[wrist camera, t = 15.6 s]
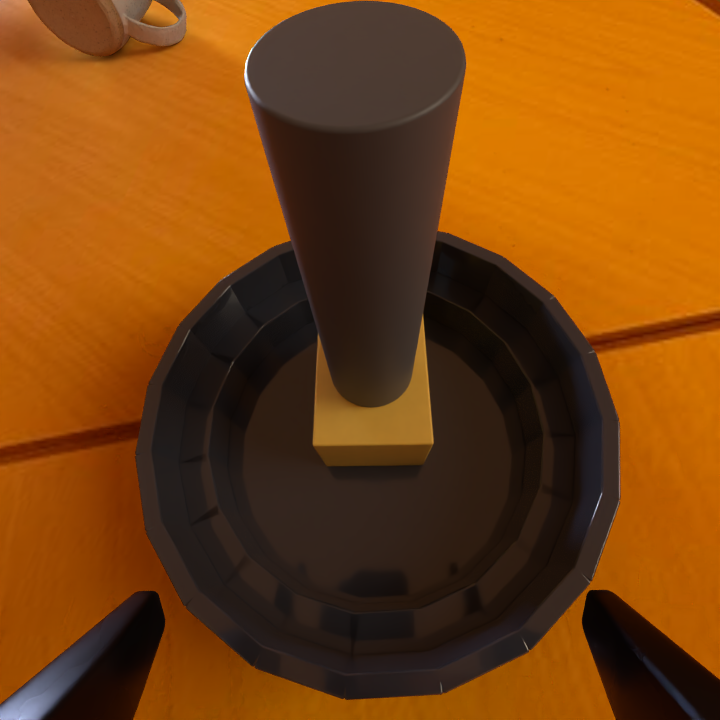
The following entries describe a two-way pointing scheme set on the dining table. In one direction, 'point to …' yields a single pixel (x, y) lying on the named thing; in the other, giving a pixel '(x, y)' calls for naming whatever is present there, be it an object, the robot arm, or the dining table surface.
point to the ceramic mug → (107, 23)
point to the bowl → (380, 483)
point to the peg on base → (362, 206)
